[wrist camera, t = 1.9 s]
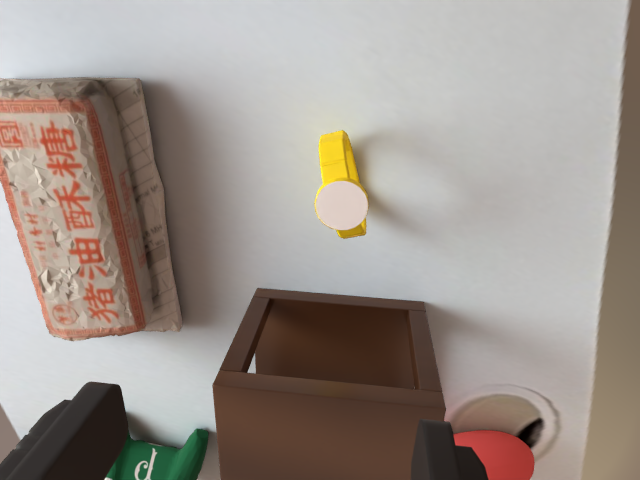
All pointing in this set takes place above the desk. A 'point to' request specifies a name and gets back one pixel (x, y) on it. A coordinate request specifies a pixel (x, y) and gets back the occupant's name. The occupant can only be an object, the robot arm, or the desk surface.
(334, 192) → the watch
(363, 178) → the desk surface
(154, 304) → the packaged product
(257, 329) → the box
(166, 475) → the gaming controller
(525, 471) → the red kidney bean
